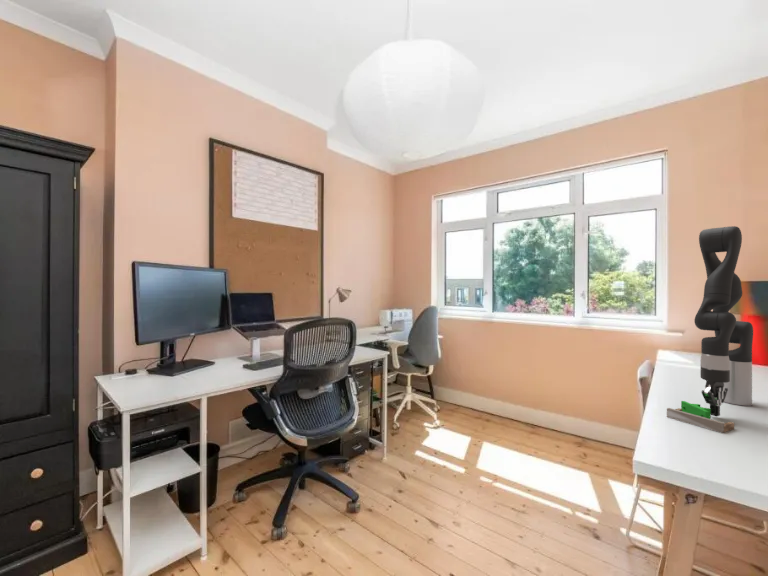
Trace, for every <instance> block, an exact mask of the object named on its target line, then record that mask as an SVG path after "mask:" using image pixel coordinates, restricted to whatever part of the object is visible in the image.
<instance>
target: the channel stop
mask: <svg viewBox="0 0 768 576" xmlns="http://www.w3.org/2000/svg"><path fill="white" fill-rule="evenodd" d="M666 417H667V418H669V419H673V420H676V421H680V422H683V423H687V424H691V425H693V424H694V426H696V425H697V427H700V426H701V427H700V428H703V427H705V428H704V429H707V428H708V429H707V430H710V429H711V431H714V430H715V431H714V432H717V433H720V432H721V433H720V434H723V433H726V432H729V431H732V430H734V429H735V422H733V421H729V422H722V421H720V420H719V421H718V420H715V419H708V418H705V417H701V416H697V415H694V414H690V413H686V412H683V411H682V409H681V407H680V408H678V407H677V408H672V407H667V408H666Z"/></svg>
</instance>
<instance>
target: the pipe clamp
mask: <svg viewBox="0 0 768 576" xmlns="http://www.w3.org/2000/svg"><path fill="white" fill-rule="evenodd" d="M680 405H681V407H680V409H682V411H683V412H686V413H690V414H694V415H697V416H701V417H705V418H708V419H711V416H712V415H711V409H710V407H709V408H707V407H702V406H701V404H699V403H690V402H688V401H685V400H681V403H680Z"/></svg>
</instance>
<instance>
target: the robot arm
mask: <svg viewBox="0 0 768 576" xmlns="http://www.w3.org/2000/svg"><path fill="white" fill-rule="evenodd" d="M742 240H743V235H742V231H741V228H740V227H738V226H735V225H734V226H732V225H731V226H723V227H713V228H712V227H711V228H706V229H705V228H704V229H702V230H701V231H700V233H699V234H698V242H699V243H698V244H699V249H700V252H701V255H702V258H703V262H704V267H705V270H706V271H705V272H706V281H705V283H704V289H703V298H702V302H701V304H700V306H699V309H698V310H697V312H696V314H695V317H694V319H693V320H694V325H695V327H696V328H698V329H699V330H702V331H711V332H714V336H708V337H707V336H706V337H703V338H702V339H701V341H700V342H701V345H700V346H701V348H700V349H701V355H700V379H702V380H704V381H706V382H705V386H704V388H705V389H704V390H701V395H702V397H703V399H704V401H705V403H706V404H708V405H709V409H711V416H713V417H720V416H721V405H722V404H724V402H725V403H727V404H731V405H737V406H744V407H745V406H747V407H748V406H752V405H753V340H754V326H753V324H752V323H751V322H749V321H743V320H741V321H739V320H737V318H736V316H735V315H734V314H733V313H732V312H730V311H731V309H732V308H733V307H735V306H736V304H737V303H738V302H739V301H740V300H741V298H742V297H743V287H742V281H741V278H740V277H739V276H738V275H737V274H736V272H735V271H736V267H737V264H738V260H739V256H740V251H741V248H742V242H743V241H742ZM725 252H726V253H725ZM717 253H725V255H724V258H723V260H722V261H721V260H720V258H719V257H718V255H717ZM730 344H737V345H739V346H738V347H737V348H734V349H730V346H729V345H730Z"/></svg>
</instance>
